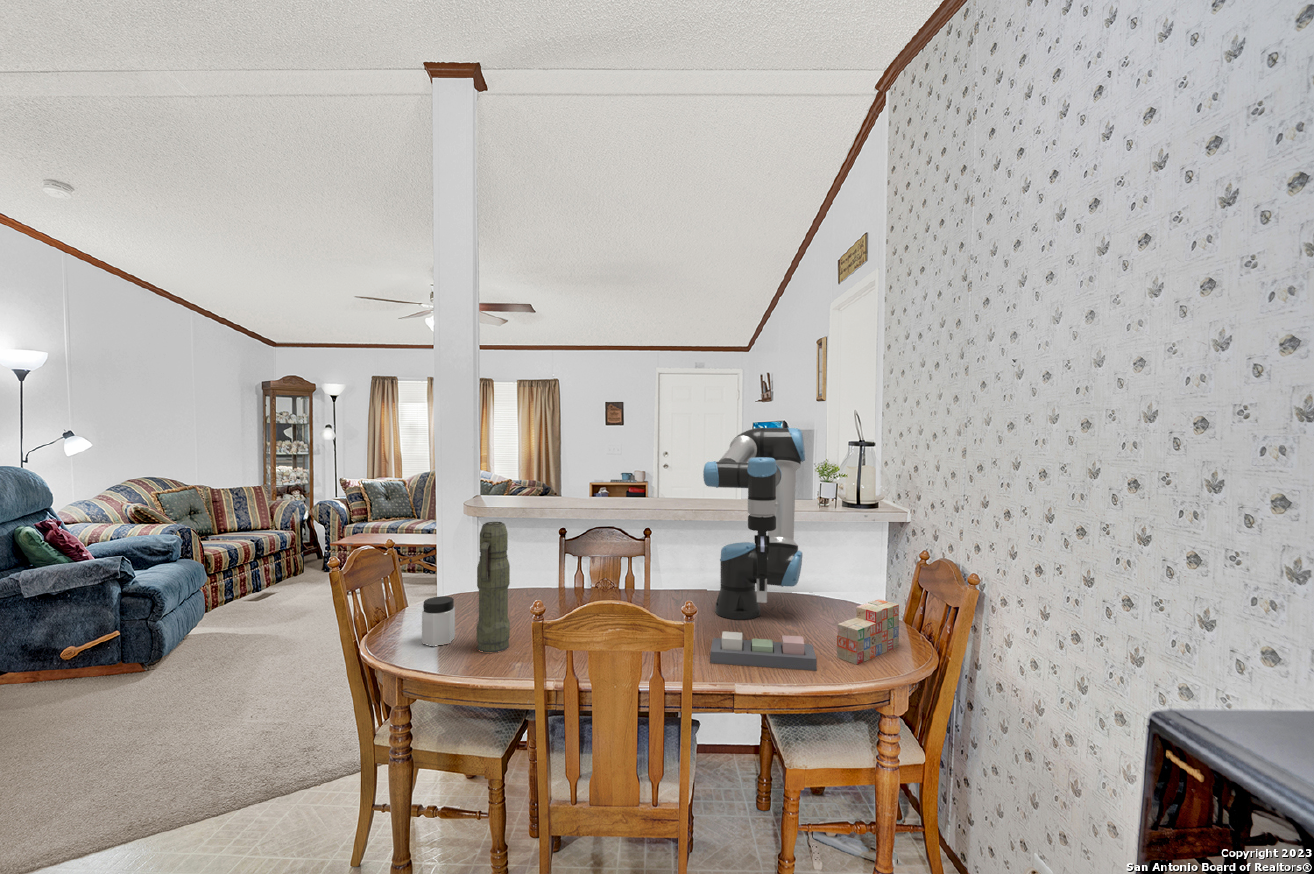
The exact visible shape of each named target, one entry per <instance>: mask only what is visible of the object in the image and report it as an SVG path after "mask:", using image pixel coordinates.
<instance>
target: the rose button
mask: <svg viewBox="0 0 1314 874" xmlns="http://www.w3.org/2000/svg"><path fill="white" fill-rule="evenodd" d="M804 640H805V639H804V637H803V636H801V635H788V634H787V635H785V634H782V635H781V642H782V654H796V655H804V644H805V641H804Z"/></svg>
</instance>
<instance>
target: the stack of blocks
mask: <svg viewBox="0 0 1314 874" xmlns="http://www.w3.org/2000/svg"><path fill="white" fill-rule="evenodd" d="M899 628H900V604H899V603H895V602H893V601H886V600H883V599H876V600H870V601H868V602H866V603H863V604H861V605H858V606H856V607H855V617H853V618H851V619H848V620H845V621H843V622H840V623H837V635H836V658H838V659H840V660H843V661H846V662H849V663H851V664H854V665H859V664H861V663H863V662H867V661H868V660H871V659H874V658H876V657H878V656H880V655H882V654H884V653H886V652H889V651H891V650H894V649H896V648H898V647H900V644H899V643H900V642H899V641H900V636H899V634H900V633H899V630H900V629H899ZM888 650H889V651H888Z"/></svg>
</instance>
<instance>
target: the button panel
mask: <svg viewBox="0 0 1314 874" xmlns="http://www.w3.org/2000/svg"><path fill="white" fill-rule="evenodd" d="M772 642H773V653H767V652H752V639H742V651H738V650H723V649H722V637H721V638H720V637H712V641H711V645H710V646H711V647H710V653H709V654H710V656H709V657H710V662H709V663H710V664H723V665H733V666H735V665H736V666H748V667H762V668H772V669H773V668H775V669H776V668H777V669H788V670H790V669H791V670H803V671H814V672H815V671H816V672H817V669H818V667H817V656H816V652H815V650H814V649H815V648H814V646H813V643H810V644H809V643H804V655H796V654H782V641H772Z"/></svg>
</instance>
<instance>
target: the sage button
mask: <svg viewBox="0 0 1314 874" xmlns="http://www.w3.org/2000/svg"><path fill="white" fill-rule="evenodd" d="M751 640H752V652H767V653H773V642H774V641H773V639H767V638H766V639H765V638H751Z"/></svg>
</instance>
